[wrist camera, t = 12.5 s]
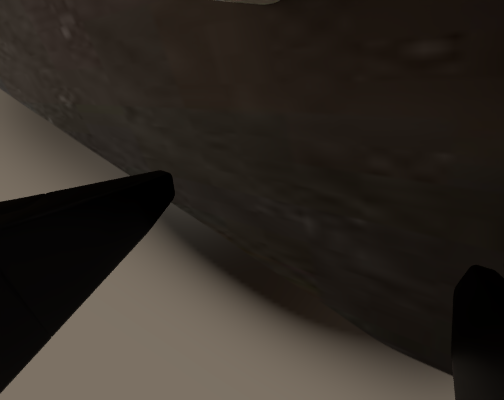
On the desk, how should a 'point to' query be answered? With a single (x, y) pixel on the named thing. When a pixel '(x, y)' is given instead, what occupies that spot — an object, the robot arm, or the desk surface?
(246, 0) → the paper towel roll
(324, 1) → the desk surface
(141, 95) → the desk surface
